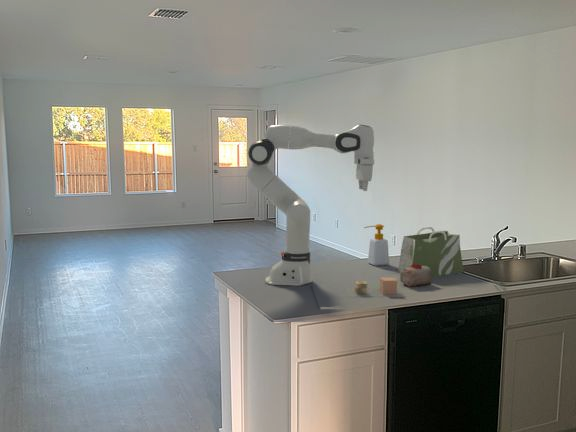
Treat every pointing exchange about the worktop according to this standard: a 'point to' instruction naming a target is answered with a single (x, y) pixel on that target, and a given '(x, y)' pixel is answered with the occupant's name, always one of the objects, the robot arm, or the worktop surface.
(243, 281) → the worktop surface
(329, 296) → the worktop surface
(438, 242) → the grocery bag
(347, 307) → the worktop surface
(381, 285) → the base block
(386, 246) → the soap bottle
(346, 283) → the worktop surface
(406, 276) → the food item
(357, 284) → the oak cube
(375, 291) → the baseplate
